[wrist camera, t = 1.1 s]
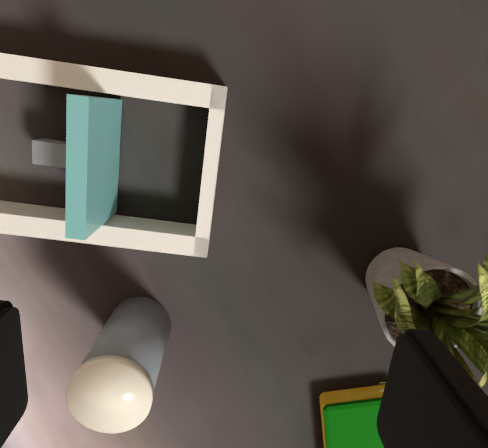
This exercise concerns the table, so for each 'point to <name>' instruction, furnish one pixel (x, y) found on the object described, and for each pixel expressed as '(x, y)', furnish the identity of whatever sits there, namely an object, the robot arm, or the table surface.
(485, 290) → the house plant
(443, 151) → the table surface
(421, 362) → the robot arm
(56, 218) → the frame
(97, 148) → the pusher
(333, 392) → the dish sponge
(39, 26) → the table surface
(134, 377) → the jar
